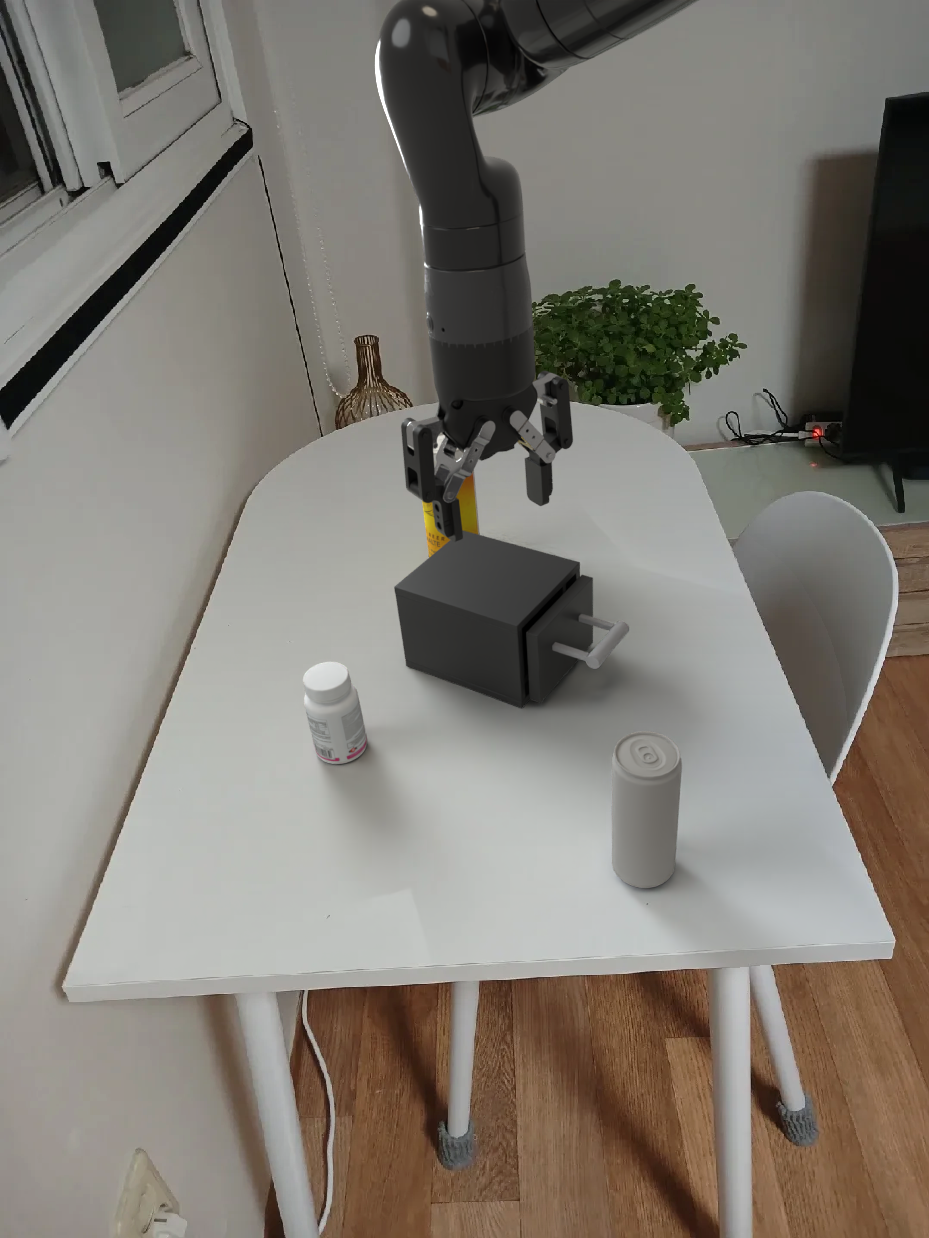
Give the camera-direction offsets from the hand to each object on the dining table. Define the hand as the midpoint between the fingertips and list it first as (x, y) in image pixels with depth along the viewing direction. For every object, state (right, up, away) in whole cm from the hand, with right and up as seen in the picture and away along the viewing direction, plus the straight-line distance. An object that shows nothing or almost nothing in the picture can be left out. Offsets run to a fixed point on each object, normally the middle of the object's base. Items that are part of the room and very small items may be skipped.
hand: (496, 519), depth 77 cm
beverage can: (+11, -27, -4) cm, 30 cm away
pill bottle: (-14, -20, +9) cm, 26 cm away
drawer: (+4, -12, +16) cm, 20 cm away
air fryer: (0, -12, +19) cm, 22 cm away
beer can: (-4, -1, +34) cm, 34 cm away
